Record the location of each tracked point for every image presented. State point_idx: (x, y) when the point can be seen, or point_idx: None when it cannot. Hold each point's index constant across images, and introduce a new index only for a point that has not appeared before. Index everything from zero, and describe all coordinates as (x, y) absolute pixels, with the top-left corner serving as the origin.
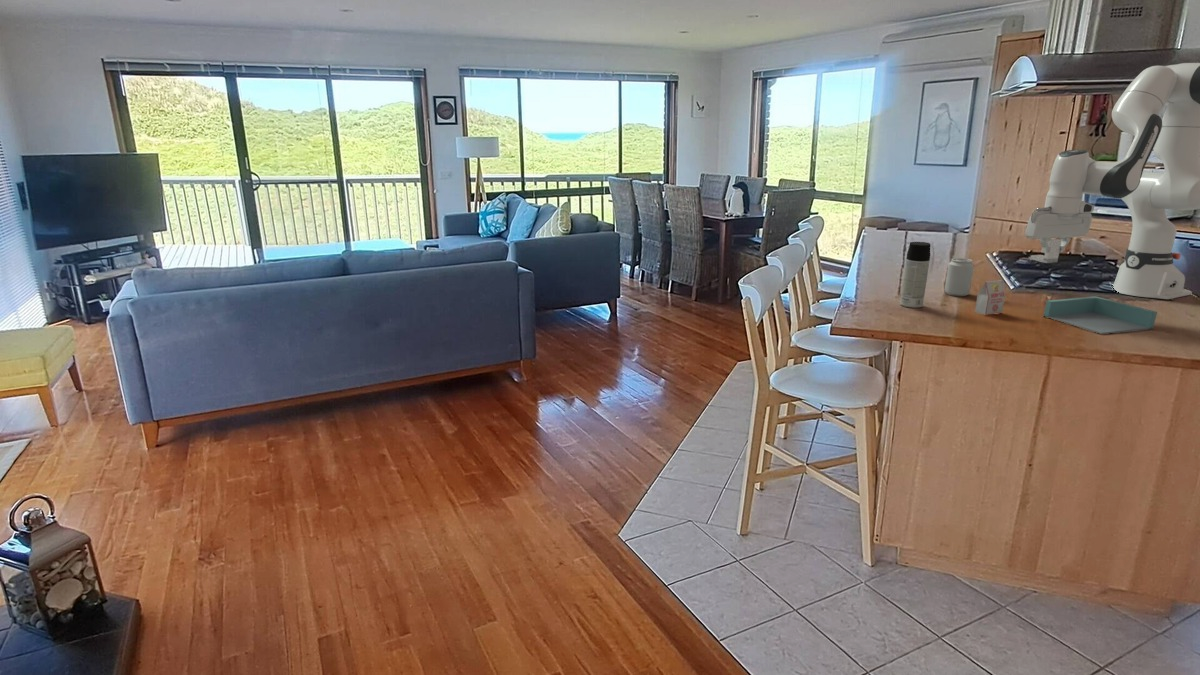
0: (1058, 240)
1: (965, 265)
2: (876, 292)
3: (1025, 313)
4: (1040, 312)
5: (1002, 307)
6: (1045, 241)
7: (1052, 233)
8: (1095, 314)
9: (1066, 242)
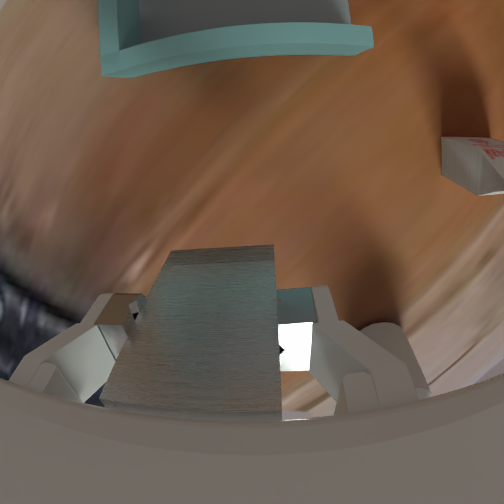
0: (150, 396)
1: (419, 392)
2: (485, 358)
3: (374, 110)
4: (313, 104)
5: (454, 140)
6: (407, 372)
7: (409, 481)
8: (161, 27)
9: (61, 351)
